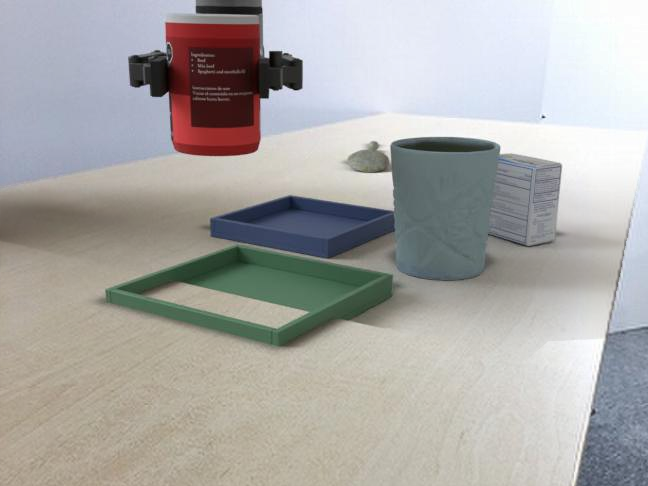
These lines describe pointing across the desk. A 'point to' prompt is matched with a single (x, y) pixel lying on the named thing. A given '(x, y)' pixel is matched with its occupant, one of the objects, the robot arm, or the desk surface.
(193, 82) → the canned food
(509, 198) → the medicine box
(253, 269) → the green tray
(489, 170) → the embossed blue cup
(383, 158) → the knobbed grey dome
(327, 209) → the blue tray
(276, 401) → the desk surface
